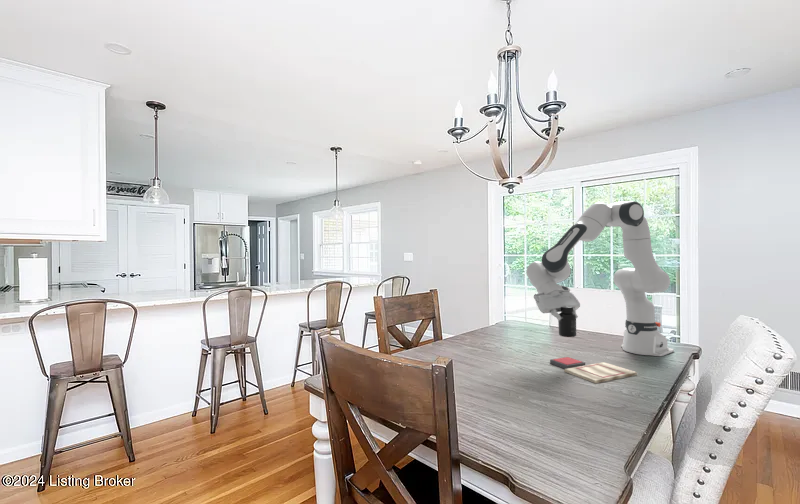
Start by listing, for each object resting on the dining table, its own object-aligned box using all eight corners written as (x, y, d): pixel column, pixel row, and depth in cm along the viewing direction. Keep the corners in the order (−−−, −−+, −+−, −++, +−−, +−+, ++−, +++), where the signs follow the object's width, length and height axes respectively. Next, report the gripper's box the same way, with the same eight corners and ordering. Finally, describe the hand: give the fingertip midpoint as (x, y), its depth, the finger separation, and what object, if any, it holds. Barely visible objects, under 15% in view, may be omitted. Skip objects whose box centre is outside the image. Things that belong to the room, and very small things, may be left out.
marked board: (604, 364, 154) (604, 361, 154) (636, 374, 141) (636, 371, 141) (564, 371, 145) (564, 368, 145) (595, 383, 132) (595, 380, 132)
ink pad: (567, 360, 160) (567, 356, 160) (585, 366, 152) (585, 362, 152) (550, 363, 156) (550, 359, 156) (567, 369, 148) (567, 365, 148)
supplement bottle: (572, 333, 157) (572, 305, 157) (579, 337, 150) (578, 308, 150) (556, 333, 158) (555, 305, 158) (561, 337, 151) (561, 308, 151)
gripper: (535, 289, 156) (553, 316, 147) (571, 287, 164) (590, 312, 155) (528, 298, 160) (545, 325, 151) (563, 296, 168) (581, 321, 159)
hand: (568, 318), depth 153 cm, fingers closed on supplement bottle, 7 cm apart
